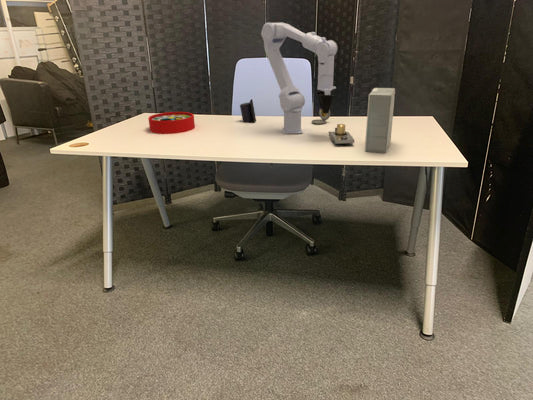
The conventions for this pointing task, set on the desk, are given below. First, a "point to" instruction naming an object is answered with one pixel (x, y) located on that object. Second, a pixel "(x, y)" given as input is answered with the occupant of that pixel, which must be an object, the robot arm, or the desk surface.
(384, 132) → the hard drive box
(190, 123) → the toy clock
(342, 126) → the brass pin
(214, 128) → the desk surface
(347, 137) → the square cutout plate
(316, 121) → the pocket watch
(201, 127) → the desk surface
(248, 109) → the speaker
